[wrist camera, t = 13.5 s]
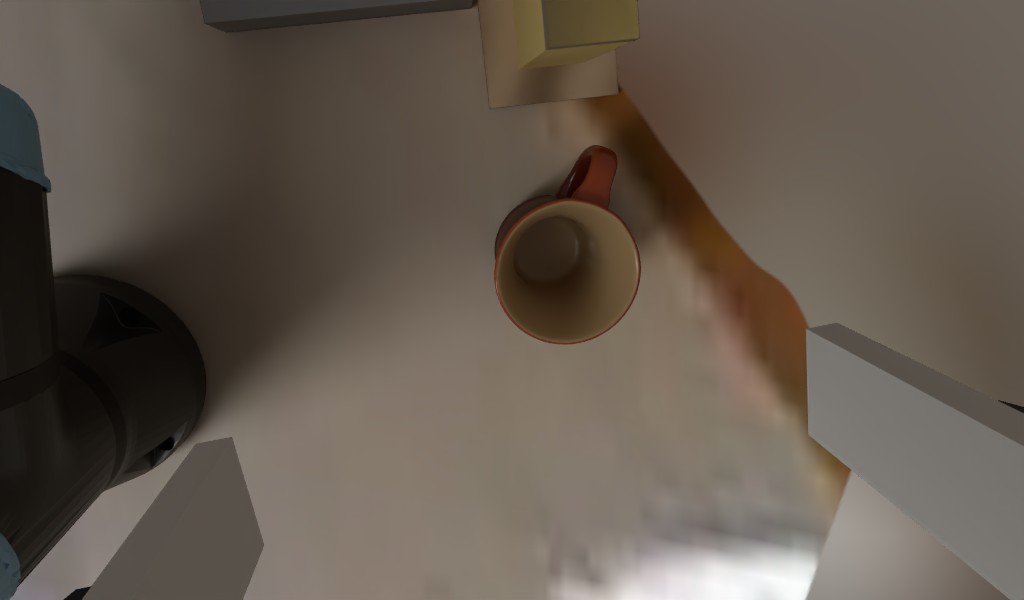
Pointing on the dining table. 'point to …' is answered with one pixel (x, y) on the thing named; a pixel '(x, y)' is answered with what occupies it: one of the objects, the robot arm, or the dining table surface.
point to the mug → (568, 257)
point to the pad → (540, 82)
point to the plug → (571, 30)
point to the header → (312, 11)
